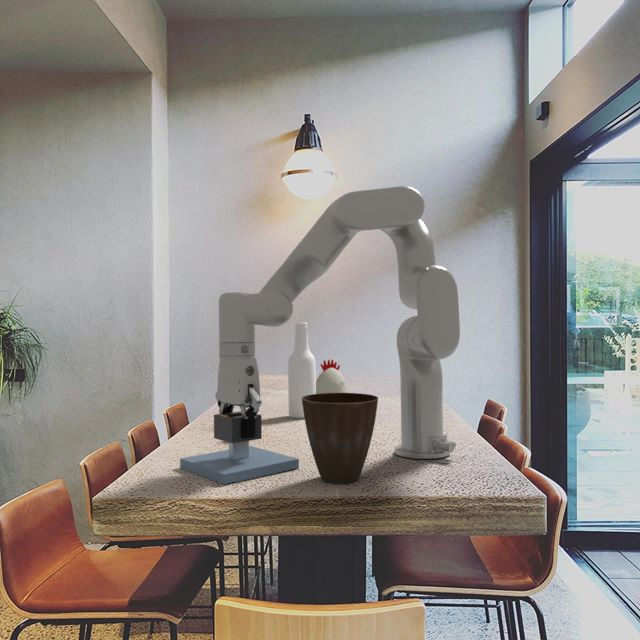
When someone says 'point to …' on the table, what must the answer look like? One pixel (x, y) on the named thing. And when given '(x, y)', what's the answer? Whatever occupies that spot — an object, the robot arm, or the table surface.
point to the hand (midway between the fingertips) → (237, 434)
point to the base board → (238, 465)
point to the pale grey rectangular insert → (238, 450)
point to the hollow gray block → (233, 427)
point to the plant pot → (340, 432)
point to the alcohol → (300, 372)
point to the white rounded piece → (331, 380)
